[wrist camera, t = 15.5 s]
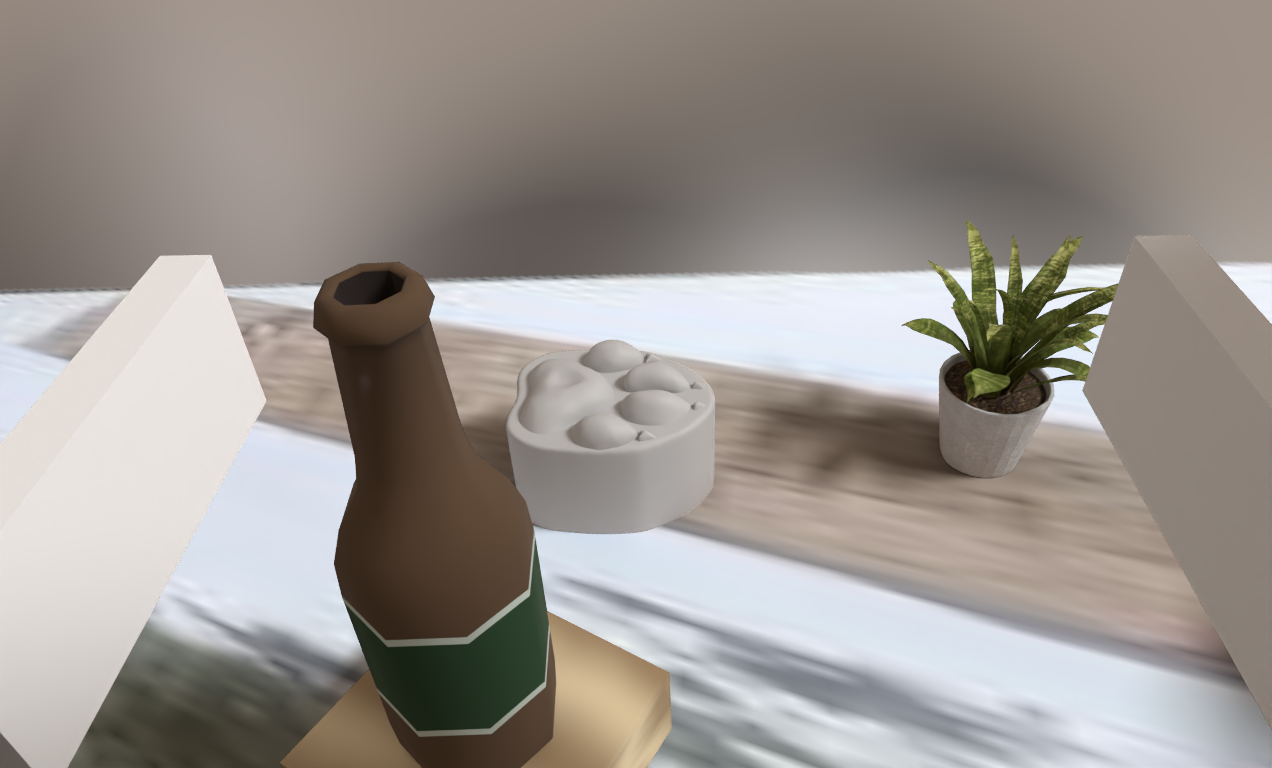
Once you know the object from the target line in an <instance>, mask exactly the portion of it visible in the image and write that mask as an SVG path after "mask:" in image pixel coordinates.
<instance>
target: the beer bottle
mask: <svg viewBox="0 0 1272 768" xmlns="http://www.w3.org/2000/svg"><path fill="white" fill-rule="evenodd" d="M434 298H435V296H434V295H433V293H432V291H431V289H430V288H429V286H428V284H427V283H426V281H425V279H424V278H423V276H422V275H420V274H418V273H417V272H415V271H413V270H412V269H410V268H408V267H407V266H405V265H403V264H402V263H400V262H390V263H389V262H387V263H365V264H358V265H356V266H354V267H351V268H349V269H347V270H345V271H343V272H341V273H338V274H336V275H334V276H332V277H330V278H328V279H325V280H324V282H323V284H322V287H321V289H320V291H319V293H318V295H317V297H316V299H315V302H314V322H313V328H314V329H316V330H317V331H319V332H320V333H321V334H323V335H324V336H326V337H327V338H328V340H329V345H330V349H331V354H332V358H333V362H334V367H335V371H336V376H337V380H338V385H339V389H340V393H341V398H342V402H343V407H344V411H345V415H346V420H347V424H348V429H349V433H350V438H351V442H352V446H353V451H354V455H355V465H356V480H355V482H354V484H353V488H352V491H351V494H350V497H349V500H348V503H347V506H346V510H345V513H344V516H343V519H342V522H341V525H340V528H339V533H338V540H337V547H336V553H335V560H334V566H335V570H336V574H337V578H338V582H339V586H340V591H341V595H342V598H343V601H344V603H345V606H346V608H347V611H348V614H349V616H350V619H351V622H352V624H353V627H354V630H355V632H356V635H357V638H358V640H359V643H360V646H361V648H362V651H363V654H364V656H365V659H366V661H367V664H368V667H369V669H370V672H371V675H372V677H373V680H374V683H375V685H376V688H377V691H378V693H379V696H380V699H381V701H382V704H383V707H384V709H385V712H386V714H387V717H388V720H389V722H390V725H391V727H392V729H393V730H394V732H395V734H396V736H397V738H398V740H399V742H400V744H401V745H402V746H403V747H404V748H405V749H406V751H407V752H408V753H409V754H410V755H411V756H412V757H413V758H414V759H415V761H416V762H417V763H418V764H419V765H420V766H421V767H422V768H521V767H522V766H523V765H524V764H526V763H527V762H528V761H529V760H530V759H531V758H532V757H533V756H534V755H535V754H536V753H538V752H539V751H540V750H541V749H542V748H543V747H544V746H545V745H546V744H547V743H549V742H550V741H551V739H552V738H553V729H554V712H555V695H556V670H555V657H554V651H553V645H552V639H551V633H550V626H549V620H548V614H547V608H546V602H545V595H544V589H543V583H542V577H541V571H540V564H539V558H538V552H537V546H536V540H535V533H534V529H533V525H532V522H531V518H530V514H529V511H528V507H527V504H526V501H525V499H524V498H523V497H522V495H521V494H520V493H519V491H518V490H517V489H516V487H515V486H514V485H513V484H512V482H511V481H510V480H509V478H508V477H507V476H506V475H504V474H503V473H501V472H500V471H499V470H497V469H496V468H495V467H493V466H492V465H491V464H489V463H488V462H486V461H485V460H484V459H482V458H481V457H480V456H478V455H477V454H476V453H474V451H473V449H472V447H471V445H470V442H469V440H468V438H467V436H466V434H465V432H464V430H463V428H462V426H461V422H460V419H459V416H458V412H457V409H456V406H455V402H454V399H453V395H452V392H451V389H450V385H449V382H448V379H447V375H446V372H445V369H444V365H443V362H442V359H441V355H440V352H439V348H438V345H437V342H436V338H435V335H434V332H433V328H432V325H431V322H430V318H429V315H430V312H431V308H432V305H433V301H434Z"/></svg>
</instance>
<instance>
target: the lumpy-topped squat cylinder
mask: <svg viewBox="0 0 1272 768" xmlns="http://www.w3.org/2000/svg"><path fill="white" fill-rule="evenodd" d="M506 432H507V437H508V444H509V450H510V456H511V461H512V467H513V472H514V478H515V484H516V489H517V490H518V491H519V493H520V494H521V495H522V497H523V498H524V499H525V501H526V504H527V507H528V511H529V514H530V518H531V522H532V523H533V524H535V525H537V526H539V527H542V528H545V529H549V530H555V531H563V532H575V533H587V534H625V533H637V532H643V531H647V530H650V529H653V528H656V527H659V526H661V525H664V524H666V523H669V522H671V521H673V520H676V519H678V518H680V517H682V516H684V515H685V514H687V513H689V512H690V511H692V510H693V509H694V508H695V507H697V506H698V505H699V504H700V503H701V502H702V501H703V500H704V499H705V498H706V497H707V496H708V494H709V493H710V491H711V489H712V487H713V484H714V452H715V397H714V394H713V391H712V389H711V388H710V386H709V385H708V384H707V382H706V381H705V380H704V379H703V378H702V377H700V376H699V375H698V374H697V373H695V372H694V371H693V370H691V369H690V368H688V367H687V366H685V365H683V364H681V363H678V362H676V361H673V360H671V359H668V358H665V357H662V356H659V355H656V354H653V353H649V352H643V351H638V350H637V349H636V348H634V347H633V346H631V345H629V344H628V343H626V342H623V341H620V340H607V341H603V342H600V343H598V344H596V345H594V346H593V347H592V348H591V350H572V351H561V352H553V353H548V354H545V355H542V356H540V357H538V358H536V359H534V360H532V361H531V362H529V363H528V364H527V365H525V366H524V367H523V368H522V370H521V371H520V373H519V376H518V380H517V399H516V402H515V404H514V406H513V408H512V410H511V412H510V413H509V415H508V418H507V421H506Z"/></svg>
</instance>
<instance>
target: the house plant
mask: <svg viewBox="0 0 1272 768" xmlns="http://www.w3.org/2000/svg"><path fill="white" fill-rule="evenodd" d="M966 224H967V231H968V241H969V251H970V259H971V269H972V300H973V301H969V300H968V298H967V296H966V294H965V292H964V290H963V289H962V288H961V287H960V285H959V284H958V283H957V282H956V281H955V279H954V278H953V277H952V276H951V275H950V274H949V273H948V272H947V271H946V270H945V269H943V268H942V267H940V266H938V265H936V264H934V263H932V262H930V261H929V263H930V264H931V266H932V267H933V269H934V270H935V271H936V272H937V273H938V274H939V275H940V276H941V277H942V279H943V281H944V283H945V285H946V287H947V288H948V290H949V291H950V293H951V294H952V295H953V297H954V298H955V299H956V301H955V302H954V303H953V307H951V308H952V309H953V310H954V311H955V314H956V316H957V318H958V320H959V322H960V324H961V326H962V328H963V330H964V332H965V334H966V336H967V340H968V344H969V348H970V350H968V348H967V347H966V345H965V344H964V342H963V341H962V340H961V339H960V338H959V337H958V336H957V335H956V334H955V333H954V332H953V331H952V330H950V329H949V328H947V327H946V326H944V325H943V324H941V323H939V322H937V321H935V320H932V319H925V318H922V319H915V320H913V321H910V322H907V323H905V324H903V325H906V326H908V327H909V328H911V329H912V330H915V331H917V332H919V333H922V334H925V335H928V336H931V337H934V338H937V339H939V340H942V341H945V342H947V343H949V344H951V345H953V346H954V347H955V348H956V349H957V350H958V351H960V353H957V354H955V355H953V356H951V357H950V358H949V359H947V360H946V361H945V362H944V364H943V365H942V367H941V368H940V374H939V439H940V450H941V453H942V456H943V458H944V459H945V461H946V462H947V463H948V464H949V465H950V466H952V467H953V468H955V469H956V470H958V471H960V472H962V473H965V474H968V475H970V476H975V477H981V478H993V477H999V476H1003V475H1005V474H1007V473H1009V472H1010V471H1011V470H1012V469H1013V468H1014V467H1015V466H1016V464H1017V462H1018V460H1019V459H1020V457H1021V455H1022V453H1023V451H1024V450H1025V448H1026V446H1027V444H1028V443H1029V441H1030V439H1031V437H1032V435H1033V434H1034V432H1035V430H1036V428H1037V427H1038V425H1039V423H1040V421H1041V419H1042V418H1043V416H1044V414H1045V412H1046V411H1047V409H1048V407H1049V405H1050V403H1051V401H1052V399H1053V397H1054V385H1053V383H1052V382H1057V381H1062V380H1080V381H1085V382H1086V379H1087V376H1088V373H1089V370H1090V367H1089V366H1088V365H1086V364H1084V363H1082V362H1079V361H1076V360H1071V359H1066V358H1049V359H1046V358H1048V357H1049V356H1051V355H1053V354H1054V353H1056V352H1058V351H1061V350H1064V349H1067V348H1070V347H1073V346H1076V347H1079V348H1080V349H1082V350H1085V351H1088V352H1091V351H1090V350H1089V349H1088V348H1087V347H1086V346H1085V345H1084V344H1083V343H1085V342H1087V341H1090V340H1091V339H1093V338H1096V337H1098V336H1097V335H1096V334H1094V333H1092V332H1091V331H1089V330H1090V329H1092V328H1093V327H1096V326H1098V325H1103V324H1105V323H1106V320H1107V317H1108V315H1103V314H1087V313H1088V312H1090V311H1092V310H1094V309H1096V308H1098V307H1101V306H1103V305H1105V304H1107V303H1109V302H1111V301H1113V299H1114V296H1115V293H1116V290H1117V287H1118V284H1115V285H1112V286H1109V287H1106V288H1095V287H1087V288H1078V289H1072V290H1067V291H1061V292H1058V293H1054V292H1055V290H1056V289H1057V288H1058V286H1059V285H1060V284H1061V282H1062V281H1063V280H1064V279H1065V277H1066V273H1067V269H1068V265H1069V261H1070V258H1071V257H1072V255H1073V254H1074V253H1075V251H1076V250H1077V249H1078V247H1079V244H1080V240H1081V238H1082V237H1079V238H1076V239H1074V240H1073V241H1071V242H1070V236H1071V235H1070V236H1069V237H1068V238H1067V239H1066V240H1065V242H1064V243H1063V244H1062V246H1061V247H1060V248H1059V250H1058V251H1057V252H1056V253H1055V254H1054V255H1053V256H1052V257H1051V258H1050V259H1049V260H1048V261H1047V262H1046V264H1045V265H1044V266H1043V267H1042V269H1041V270H1040V271H1039V272H1038V274H1037V275H1036V276H1035V277H1034V279H1033V280H1032V281H1031V282H1030V283H1029V284H1028V286H1027V287H1026V288H1025V290H1024V291H1023V292H1022V282H1023V280H1022V273H1021V268H1020V263H1019V252H1018V246H1017V244H1016V242H1015V239H1014V237H1013V236H1012V249H1011V260H1010V261H1011V262H1010V270H1009V281H1008V289H1007V293H1006V292H1004V291H1002V290H997V289H996V282H995V271H994V264H993V258H992V256H991V255H990V253H989V251H988V249H987V248H986V247H985V245H984V243H983V242H982V239H981V237H980V235H979V232H978V230H977V229H976V228H975V227H974V226H973V225H972V224H971V223H970V222H969V221H968V219H967V223H966ZM996 290H997V291H998V292H999V294H1000V296H1001V298H1002V302H1003V307H1004V313H1003V325H998V320H997V314H996ZM1097 290H1098V291H1097ZM1088 291H1096V292H1093V293H1091V294H1089V295H1087V296H1084V297H1082V298H1080V299H1078V300H1076V301H1075V302H1073V303H1071V304H1069V305H1068V306H1066V307H1064V308H1063V309H1054V310H1052V311H1049V312H1047V313H1045V314H1043V315H1042V316H1040V317H1039V318H1037V316H1038V315H1039V313H1040V312H1041V310H1042V309H1043V307H1044V306H1045V304H1046V303H1047V302H1048V301H1051V300H1053V299H1056V298H1059V297H1063V296H1066V295H1071V294H1076V293H1081V292H1088ZM1053 293H1054V294H1053ZM1085 314H1087V315H1085ZM1036 318H1037V319H1036ZM1076 323H1080V324H1078V325H1076V326H1073V327H1067V326H1069V325H1071V324H1076ZM903 325H902V326H903ZM1066 327H1067V328H1066ZM1039 340H1040V341H1039ZM1038 341H1039V342H1038ZM1037 342H1038V343H1037ZM1036 343H1037V344H1036ZM1035 344H1036V345H1035ZM1034 345H1035V346H1034ZM1033 346H1034V347H1033ZM1031 347H1033V348H1032V349H1031V350H1030V351H1029V352H1028V353H1027V354H1026V355H1025V356H1024V357H1022V356H1023V355H1024V354H1025V353H1026V352H1027V351H1028V350H1029V349H1030V348H1031ZM1091 353H1092V352H1091ZM1092 354H1093V353H1092ZM1044 359H1045V360H1044ZM1045 367H1055V368H1061V369H1064V370H1066V371H1069V372H1071V373H1073V374H1075V375H1067V376H1061V377H1057V378H1054V379H1050V377H1049V376H1048V375H1047V374H1046V372H1045V371H1044V370H1043V369H1042V368H1045Z"/></svg>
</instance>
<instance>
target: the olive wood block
mask: <svg viewBox="0 0 1272 768" xmlns="http://www.w3.org/2000/svg"><path fill="white" fill-rule="evenodd" d="M547 614H548V620H549V626H550V633H551V639H552V645H553V651H554V657H555V670H556V695H555V712H554V729H553V738H552V739H551V741H550V742H549V743H547V744H546V745H545V746H544V747H543V748H542V749H541V750H540V751H539V752H538V753H536V754H535V755H534V756H533V757H532V758H531V759H530V760H529V761H528V762H527V763H526V764H524V765H523V766H522V767H521V768H647V767H648V765H649V764H650V762H651V760H652V759H653V757H654V756H655V754H656V752H657V751H658V749H659V748H660V746H661V745H662V743H663V741H664V740H665V738H666V737H667V735H668V733H669V732H670V730H671V702H670V673H669V672H667V671H665V670H663V669H661V668H659V667H657V666H655V665H653V664H651V663H649V662H647V661H645V660H643V659H641V658H639V657H637V656H635V655H633V654H631V653H629V652H627V651H625V650H623V649H621V648H619V647H617V646H615V645H613V644H612V643H610V642H608V641H606V640H604V639H602V638H600V637H598V636H596V635H594V634H592V633H590V632H588V631H586V630H584V629H582V628H580V627H578V626H576V625H574V624H572V623H570V622H568V621H566V620H564V619H562V618H560V617H558V616H556V615H554V614H552V613H550V612H548V611H547ZM280 764H281V766H282V768H422V767H421V766H420V765H419V764H418V763H417V762H416V761H415V759H414V758H413V757H412V756H411V755H410V754H409V753H408V752H407V751H406V749H405V748H404V747H403V746H402V745H401V744H400V742H399V740H398V738H397V736H396V734H395V732H394V730H393V729H392V727H391V725H390V722H389V720H388V717H387V714H386V712H385V709H384V707H383V704H382V701H381V699H380V696H379V693H378V691H377V688H376V685H375V683H374V680H373V677H372V675H371V672H370V669H369V670H368V671H367V672H366V673H365V674H364V675H363V676H362V677H361V678H360V679H359V680H358V681H357V682H356V683H355V684H354V685H353V686H352V687H351V688H350V690H349V691H348V692H347V693H346V694H345V695H344V696H343V697H342V698H341V699H340V700H339V701H338V702H337V703H336V704H335V705H334V706H333V707H332V708H331V709H330V710H329V712H328V713H327V714H326V715H325V716H324V717H323V718H322V719H321V720H320V721H319V722H318V723H317V724H316V725H315V726H314V727H313V728H312V729H311V730H310V731H309V732H308V734H307V735H306V736H305V737H304V738H303V739H302V740H301V741H300V742H299V743H298V744H297V745H296V746H295V747H294V748H293V749H292V750H291V751H290V752H289V753H288V754H287V756H286V757H285V758H284V759H283V760H282V761H281V762H280Z"/></svg>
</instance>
